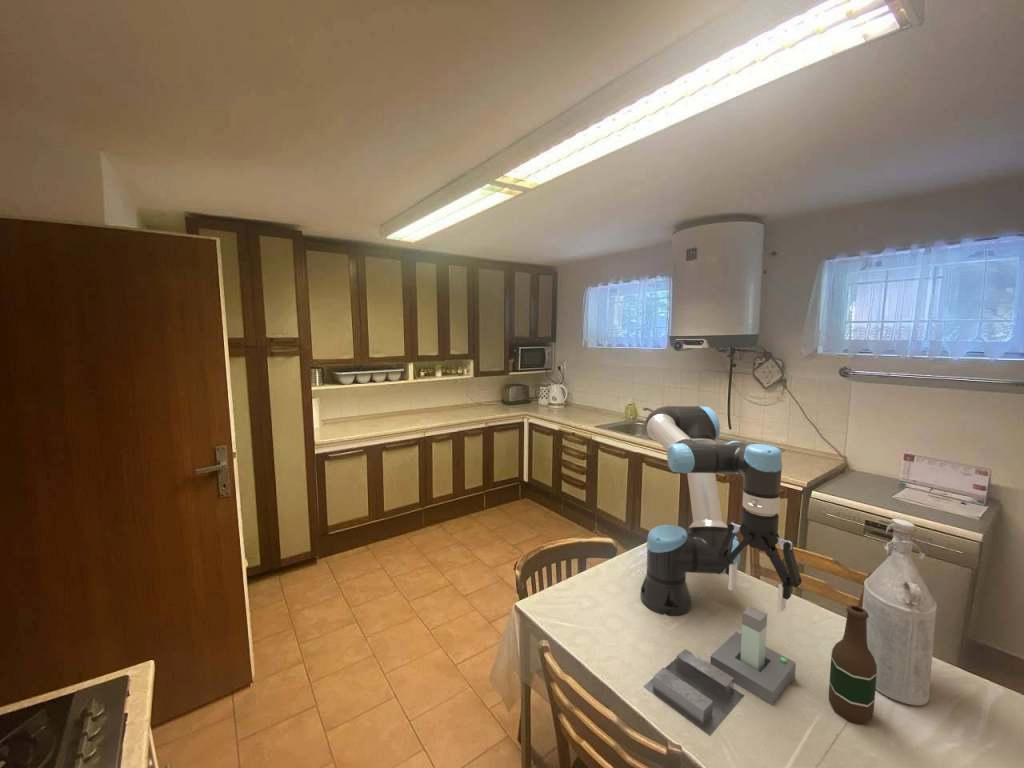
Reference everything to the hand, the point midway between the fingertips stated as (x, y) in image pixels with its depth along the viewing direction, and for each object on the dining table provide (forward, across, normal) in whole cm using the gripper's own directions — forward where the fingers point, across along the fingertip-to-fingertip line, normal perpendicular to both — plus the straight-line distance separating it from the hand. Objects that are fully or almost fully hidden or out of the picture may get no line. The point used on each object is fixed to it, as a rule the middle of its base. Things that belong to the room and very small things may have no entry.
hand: (755, 598), depth 102 cm
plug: (+20, 0, 0) cm, 20 cm away
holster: (+20, -6, -17) cm, 27 cm away
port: (+20, 0, 0) cm, 20 cm away
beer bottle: (+20, +18, +6) cm, 28 cm away
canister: (+20, +22, +24) cm, 38 cm away
